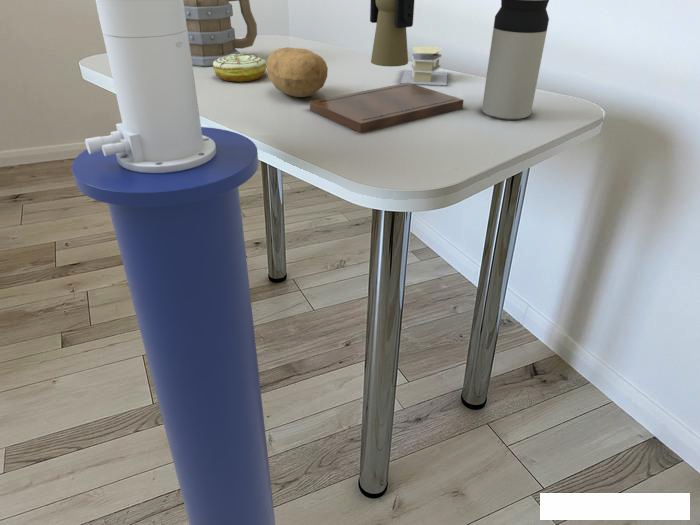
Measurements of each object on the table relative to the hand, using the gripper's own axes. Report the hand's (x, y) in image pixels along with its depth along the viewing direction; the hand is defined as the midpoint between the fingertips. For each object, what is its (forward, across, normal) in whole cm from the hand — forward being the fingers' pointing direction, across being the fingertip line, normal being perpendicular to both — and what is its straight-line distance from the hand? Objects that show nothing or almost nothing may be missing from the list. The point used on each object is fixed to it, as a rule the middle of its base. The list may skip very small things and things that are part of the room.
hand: (391, 23), depth 84 cm
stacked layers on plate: (+14, -12, +20) cm, 27 cm away
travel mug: (+14, +13, +15) cm, 24 cm away
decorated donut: (+14, -34, -10) cm, 38 cm away
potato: (+14, -16, -8) cm, 22 cm away
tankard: (+14, -51, -5) cm, 53 cm away
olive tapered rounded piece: (+6, 0, 0) cm, 6 cm away
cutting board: (+13, 0, 0) cm, 13 cm away
